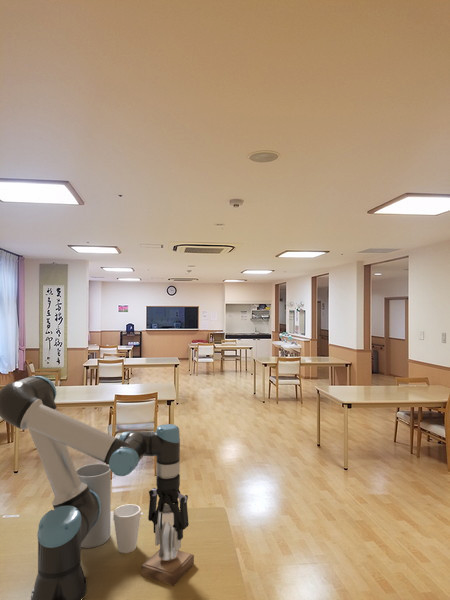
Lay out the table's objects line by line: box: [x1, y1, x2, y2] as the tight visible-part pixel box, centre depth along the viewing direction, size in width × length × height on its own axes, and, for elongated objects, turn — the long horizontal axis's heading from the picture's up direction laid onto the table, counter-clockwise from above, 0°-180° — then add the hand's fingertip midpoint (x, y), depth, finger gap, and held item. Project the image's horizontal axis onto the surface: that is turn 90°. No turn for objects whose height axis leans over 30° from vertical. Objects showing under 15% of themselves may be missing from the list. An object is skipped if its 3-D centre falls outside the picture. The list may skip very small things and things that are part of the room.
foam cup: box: [113, 503, 142, 554], centre depth 144 cm, size 10×9×13 cm
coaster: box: [141, 548, 195, 587], centre depth 132 cm, size 12×12×3 cm
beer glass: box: [157, 504, 178, 561], centre depth 132 cm, size 7×7×15 cm
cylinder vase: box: [76, 463, 112, 549], centre depth 150 cm, size 12×12×25 cm
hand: (168, 546), depth 132 cm, fingers closed on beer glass, 7 cm apart
